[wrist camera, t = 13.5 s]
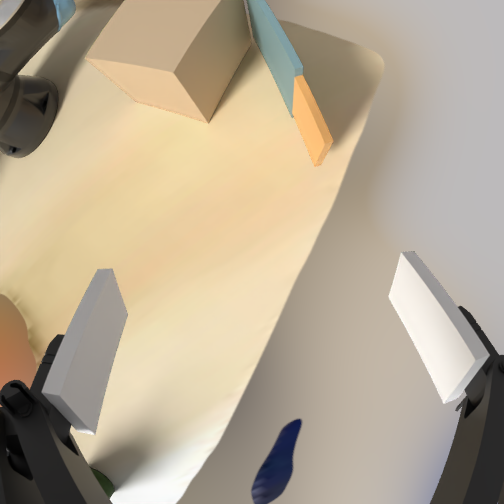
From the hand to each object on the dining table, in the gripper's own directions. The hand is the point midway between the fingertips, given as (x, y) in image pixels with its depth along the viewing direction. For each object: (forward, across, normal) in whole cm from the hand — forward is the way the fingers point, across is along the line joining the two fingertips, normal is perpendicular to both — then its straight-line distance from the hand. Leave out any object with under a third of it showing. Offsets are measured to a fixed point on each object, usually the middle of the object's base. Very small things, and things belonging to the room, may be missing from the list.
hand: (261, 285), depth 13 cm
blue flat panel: (+29, +6, +6) cm, 30 cm away
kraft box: (+35, -6, +10) cm, 37 cm away
